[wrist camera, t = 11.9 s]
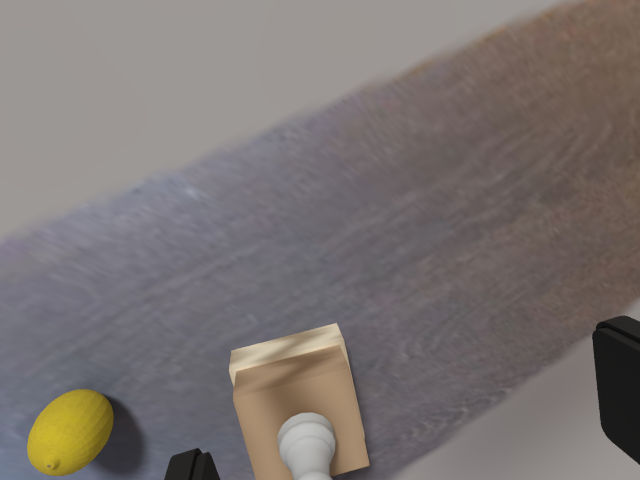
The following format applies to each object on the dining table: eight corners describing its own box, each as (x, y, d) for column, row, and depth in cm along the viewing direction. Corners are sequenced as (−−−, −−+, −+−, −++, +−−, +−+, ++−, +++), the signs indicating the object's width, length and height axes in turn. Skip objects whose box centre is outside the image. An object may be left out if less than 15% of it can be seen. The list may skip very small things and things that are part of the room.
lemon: (49, 414, 37) (-8, 484, 29) (75, 362, 36) (25, 420, 28) (109, 436, 38) (70, 509, 30) (136, 386, 37) (103, 448, 29)
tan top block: (339, 344, 35) (349, 367, 31) (358, 433, 37) (369, 465, 33) (235, 371, 34) (232, 398, 31) (261, 460, 36) (261, 496, 33)
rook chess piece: (315, 397, 31) (331, 478, 24) (344, 439, 32) (369, 528, 25) (265, 429, 31) (265, 519, 24) (296, 469, 32) (306, 568, 25)
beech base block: (335, 321, 39) (343, 339, 35) (355, 411, 41) (365, 437, 37) (231, 348, 38) (228, 370, 34) (258, 439, 40) (257, 469, 37)
